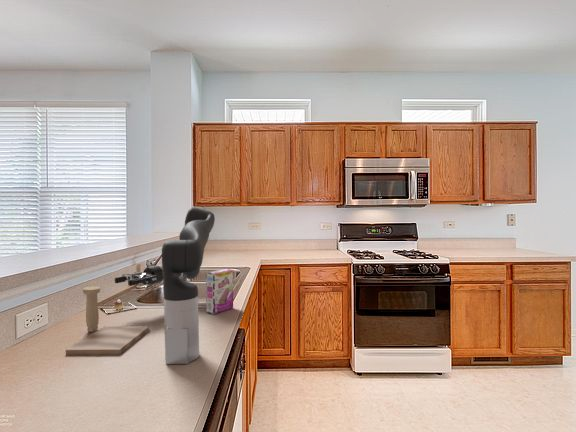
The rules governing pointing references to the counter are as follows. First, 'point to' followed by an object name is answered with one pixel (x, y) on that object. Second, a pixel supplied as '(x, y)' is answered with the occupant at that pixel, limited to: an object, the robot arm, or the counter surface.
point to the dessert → (120, 306)
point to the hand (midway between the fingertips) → (121, 281)
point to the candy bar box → (219, 291)
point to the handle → (92, 308)
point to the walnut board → (108, 341)
